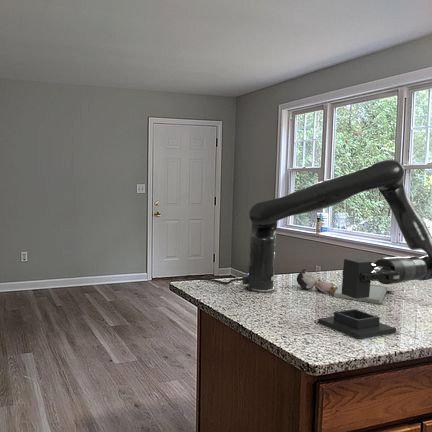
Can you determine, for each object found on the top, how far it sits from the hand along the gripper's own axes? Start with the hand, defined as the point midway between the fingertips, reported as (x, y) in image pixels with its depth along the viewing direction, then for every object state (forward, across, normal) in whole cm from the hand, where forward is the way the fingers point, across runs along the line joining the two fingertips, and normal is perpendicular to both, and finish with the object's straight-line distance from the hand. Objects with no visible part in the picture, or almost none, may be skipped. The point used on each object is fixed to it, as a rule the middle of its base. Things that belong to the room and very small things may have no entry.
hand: (352, 274), depth 120 cm
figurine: (-24, -36, +15) cm, 46 cm away
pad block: (-2, 0, +6) cm, 6 cm away
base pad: (-2, 0, +15) cm, 15 cm away
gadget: (-36, -26, +16) cm, 47 cm away
